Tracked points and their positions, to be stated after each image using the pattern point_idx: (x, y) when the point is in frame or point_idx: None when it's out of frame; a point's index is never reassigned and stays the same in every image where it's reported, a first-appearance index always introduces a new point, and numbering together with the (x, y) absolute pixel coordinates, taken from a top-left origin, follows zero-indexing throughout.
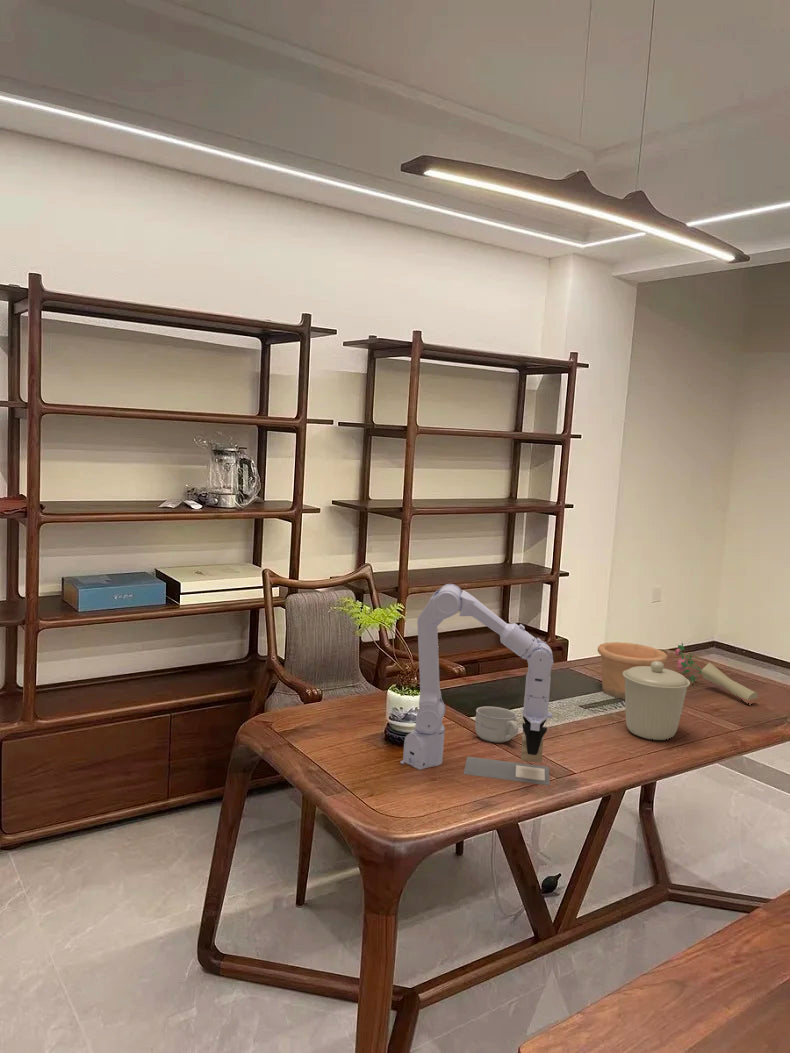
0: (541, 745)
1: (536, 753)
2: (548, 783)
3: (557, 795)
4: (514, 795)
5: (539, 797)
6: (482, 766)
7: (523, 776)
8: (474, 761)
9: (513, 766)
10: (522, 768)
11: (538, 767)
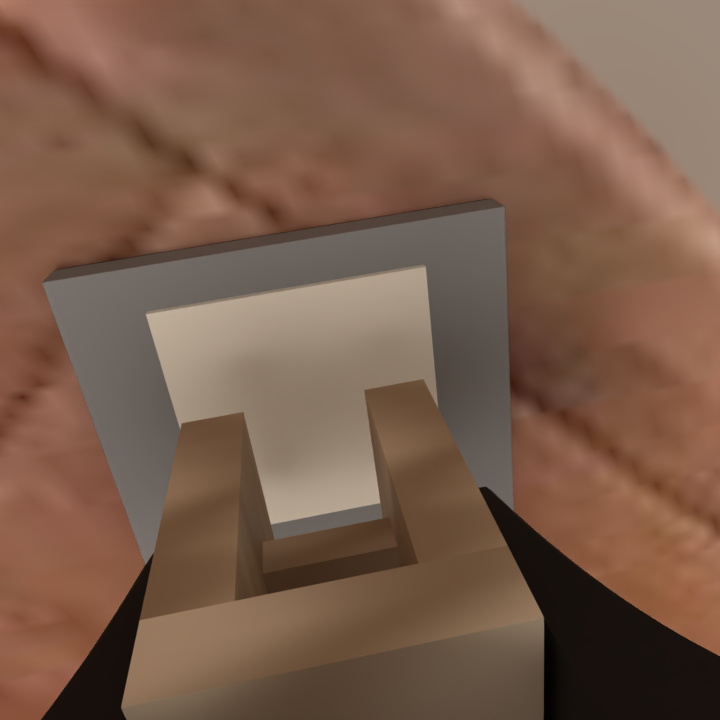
0: (496, 532)
1: (501, 501)
2: (467, 224)
3: (590, 110)
4: (675, 418)
5: (667, 252)
6: None
7: None
8: None
9: None
10: None
11: (128, 370)
